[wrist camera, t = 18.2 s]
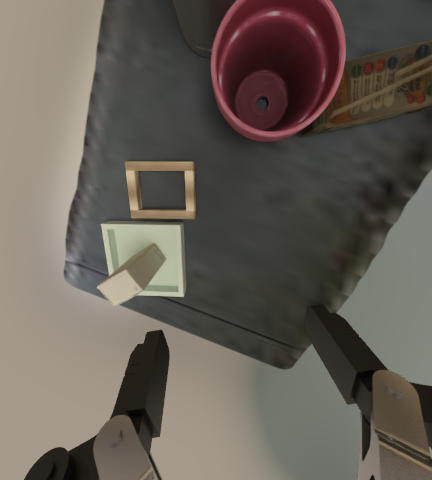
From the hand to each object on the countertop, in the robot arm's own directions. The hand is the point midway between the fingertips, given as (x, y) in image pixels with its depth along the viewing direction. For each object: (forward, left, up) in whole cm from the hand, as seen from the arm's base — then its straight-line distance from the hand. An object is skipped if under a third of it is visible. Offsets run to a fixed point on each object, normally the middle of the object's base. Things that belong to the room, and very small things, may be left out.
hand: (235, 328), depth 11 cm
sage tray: (+8, -17, -30) cm, 35 cm away
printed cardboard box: (-20, +20, -30) cm, 41 cm away
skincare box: (+8, -17, -29) cm, 35 cm away
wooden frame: (-6, -13, -30) cm, 33 cm away
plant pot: (-20, +4, -30) cm, 36 cm away
